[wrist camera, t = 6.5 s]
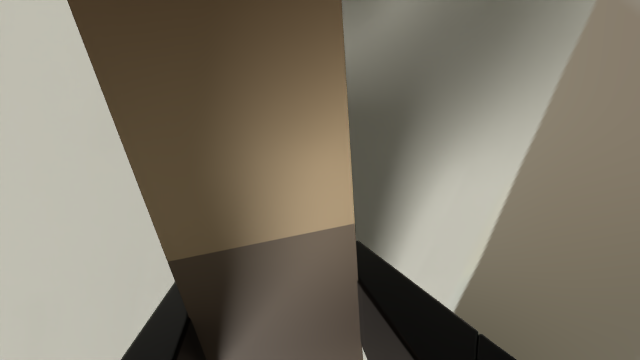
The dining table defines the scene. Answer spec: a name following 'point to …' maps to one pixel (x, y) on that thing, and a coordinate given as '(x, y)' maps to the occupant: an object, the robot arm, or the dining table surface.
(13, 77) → the dining table surface
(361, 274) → the robot arm
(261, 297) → the tan wooden plank
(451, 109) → the dining table surface
